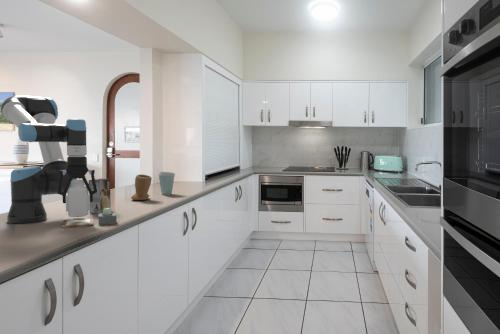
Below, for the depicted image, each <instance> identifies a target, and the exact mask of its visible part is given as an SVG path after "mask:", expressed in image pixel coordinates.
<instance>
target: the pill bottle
mask: <svg viewBox="0 0 500 334" xmlns="http://www.w3.org/2000/svg"><path fill="white" fill-rule="evenodd" d="M71 185H72V186H71V187H69V188H68V193H67V195H68V212H67V215H68V217H71V218H84V217H87V216H88V215H89V213H90V212H89V210H88V194H89V191H88V189H87V187H86V185H85V183H84V181H83V179H77V180H72V181H71Z"/></svg>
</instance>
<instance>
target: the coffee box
mask: <svg viewBox="0 0 500 334" xmlns="http://www.w3.org/2000/svg"><path fill="white" fill-rule="evenodd" d="M95 183H96V188H97V193H94V194H93V202H90V210H88V212H89V213H90V214H102V213H103V209H105V208H111V207H112V203H111V178H95ZM88 184H89V186H90V188H91V190H92V191H93V190H94V189H93V184H92V179H89V180H88ZM88 194H90V193H89V192H88ZM111 209H112V208H111Z"/></svg>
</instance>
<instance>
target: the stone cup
mask: <svg viewBox="0 0 500 334" xmlns="http://www.w3.org/2000/svg"><path fill="white" fill-rule="evenodd" d="M134 179H135V180H134V187H135V193H134V194H133V195H132V196H131V197H130V199H131V200H135V201H145V200H147V199H149V197H150V194H149V193H148V192H149V191H150V187H151V185H152V176H150V175H149V174H137V175H136V176H135V178H134Z"/></svg>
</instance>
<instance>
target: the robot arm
mask: <svg viewBox="0 0 500 334" xmlns="http://www.w3.org/2000/svg"><path fill="white" fill-rule="evenodd" d="M0 112H1V114H2V116H3V117H4V118H5V120H7V121H10V122H11V123H13V125H14V126H15V127H16V128H17V129H18V130H17V133H18V134H17V135H18V137H19V140H20V142H26V143H38V145H39V149H40V153H41V157H42V161H43V166H42V167H41V166H40V165H35V166H34V165H33V166H26V167H19V168H16V169H13V170H12V171H11V173H10V180H9V181H10V195H11V196H10V197H11V201H10V202H11V205H10V207H9V211H8V214H7V216H6V221H7V223H9V224H31V223H38V222H43V221H46V220H47V219H48V215H47V212H46V211H47V210H46V209H45V206H44V204H43V196H47V195H48V196H49V195H60V196H62V203H63V204H65V213H66V212H67V213H68V188H69V187H71V186H72V185H71V181H72V180H83V181H84V184H85V185H84V186H86V187H87V189H88V211H89V210H90V202H93V194H94V193H97V188H96V183H95V179H96V178H95V169H90V168H88V159H87V155H88V153H87V152H88V151H87V123H86V120H85V119H82V118H67V120H66V123H65V124H63V123H62V124H60V123H59V124H57V123H56V120H57V119H58V117H59V111H58V105H57V103H56V101H55V100H54V99H53V98H51V97H46V96H32V95H21V94H17V95H12V96H9V97H8V98H5V99H4V101H3V102H2V103H1V104H0ZM55 123H56V124H55ZM60 143H66V155H67V157H66V158H67V159H66V160H65V158H64V155H63V152H62V148H61V144H60ZM87 173H89V175H90V178H91V180H92V184H93V189H94V190H93V191H92V190H91V188H90V186H89V181H88V180H87V178H86V175H87ZM89 193H90V194H89Z"/></svg>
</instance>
